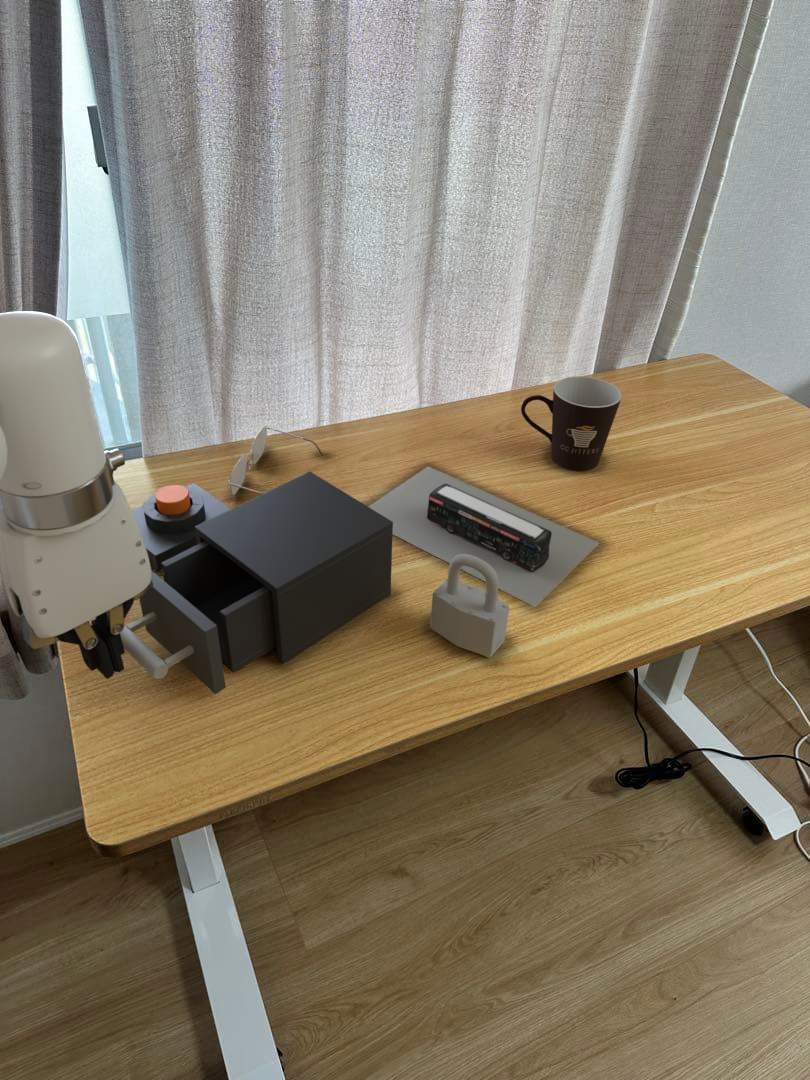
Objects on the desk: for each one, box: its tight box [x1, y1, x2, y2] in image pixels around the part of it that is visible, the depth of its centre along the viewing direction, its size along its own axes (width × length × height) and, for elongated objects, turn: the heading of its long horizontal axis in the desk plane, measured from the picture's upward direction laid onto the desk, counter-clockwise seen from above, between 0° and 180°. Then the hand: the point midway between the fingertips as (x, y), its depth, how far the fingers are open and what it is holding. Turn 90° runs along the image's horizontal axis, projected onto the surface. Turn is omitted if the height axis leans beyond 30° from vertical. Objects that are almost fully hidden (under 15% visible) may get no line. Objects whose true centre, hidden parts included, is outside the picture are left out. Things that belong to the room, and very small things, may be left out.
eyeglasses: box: [227, 425, 324, 496], centre depth 101 cm, size 14×8×4 cm, turn 168°
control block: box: [131, 482, 232, 572], centre depth 91 cm, size 11×9×4 cm
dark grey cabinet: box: [195, 471, 393, 665], centre depth 82 cm, size 15×13×10 cm
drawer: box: [120, 541, 277, 695], centre depth 76 cm, size 18×11×8 cm, turn 136°
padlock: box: [429, 554, 510, 658], centre depth 78 cm, size 7×4×10 cm, turn 56°
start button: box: [155, 484, 190, 515], centre depth 90 cm, size 4×4×2 cm
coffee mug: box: [520, 375, 623, 472], centre depth 106 cm, size 12×9×10 cm
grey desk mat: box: [367, 466, 600, 608], centre depth 94 cm, size 14×25×4 cm, turn 52°
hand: (107, 665), depth 69 cm, fingers closed
